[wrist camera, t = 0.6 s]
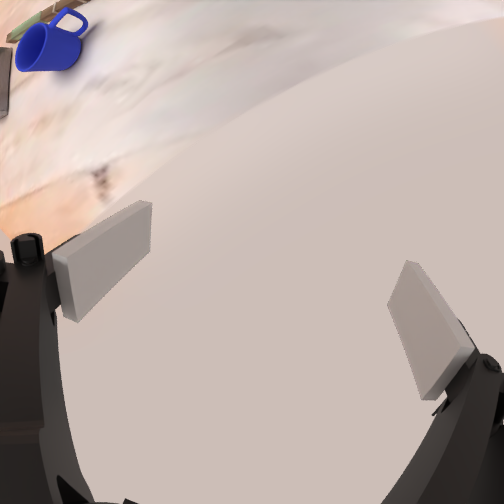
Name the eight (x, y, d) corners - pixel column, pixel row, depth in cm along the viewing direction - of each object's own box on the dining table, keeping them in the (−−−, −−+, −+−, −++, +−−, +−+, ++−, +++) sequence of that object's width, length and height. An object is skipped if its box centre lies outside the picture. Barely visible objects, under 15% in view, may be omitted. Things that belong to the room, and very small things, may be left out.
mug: (109, 33, 32) (70, 20, 23) (63, 83, 36) (21, 82, 27) (92, 8, 30) (56, -6, 21) (49, 56, 34) (10, 52, 25)
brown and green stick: (15, 35, 31) (6, 34, 29) (125, -22, 27) (116, -28, 25) (13, 43, 32) (5, 43, 30) (123, -13, 28) (115, -18, 26)
